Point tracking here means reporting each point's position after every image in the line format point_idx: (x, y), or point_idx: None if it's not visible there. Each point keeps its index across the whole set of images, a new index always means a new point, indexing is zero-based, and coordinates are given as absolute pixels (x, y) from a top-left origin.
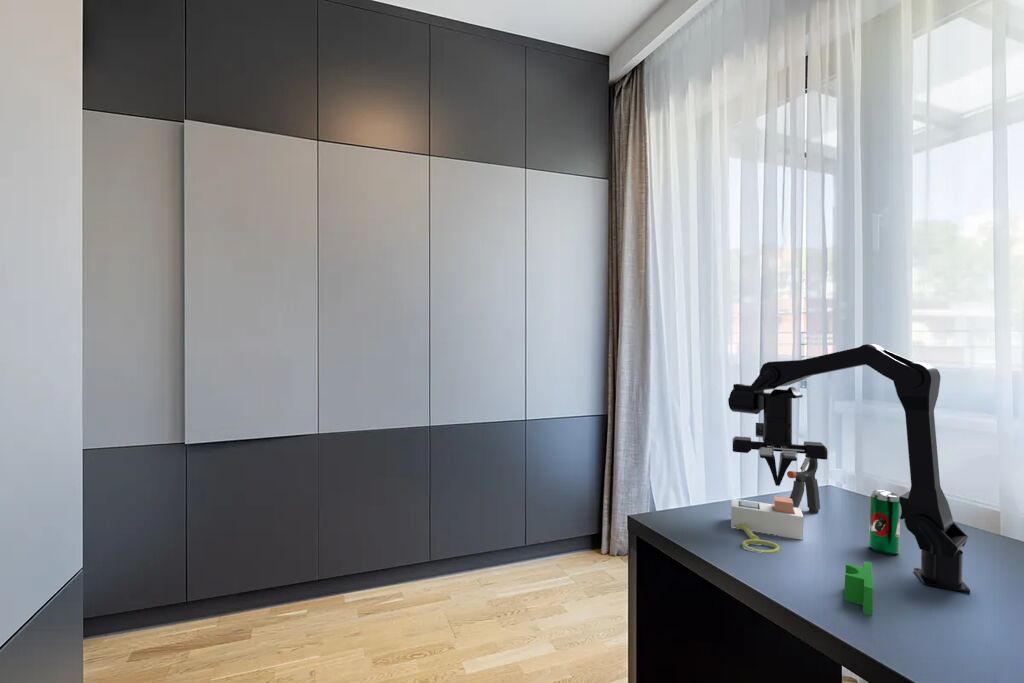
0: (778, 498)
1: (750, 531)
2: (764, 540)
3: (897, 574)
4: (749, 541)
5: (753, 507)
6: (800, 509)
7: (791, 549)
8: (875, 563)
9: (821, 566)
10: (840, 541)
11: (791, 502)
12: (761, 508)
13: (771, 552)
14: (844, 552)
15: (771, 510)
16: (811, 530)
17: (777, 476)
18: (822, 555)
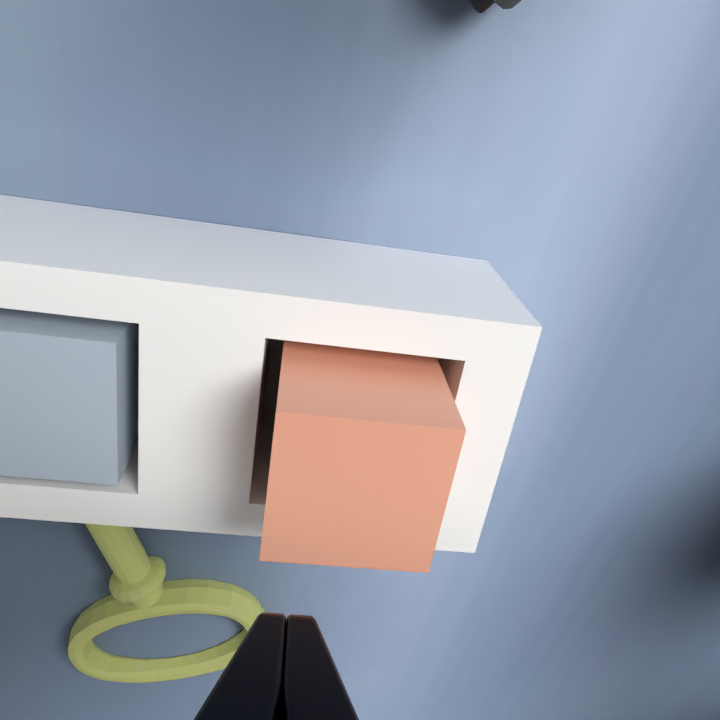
0: (312, 474)
1: (105, 539)
2: (187, 609)
3: (716, 676)
4: (105, 628)
5: (78, 477)
6: (526, 367)
7: (331, 589)
8: (691, 609)
9: (418, 706)
10: (679, 387)
11: (417, 556)
12: (153, 466)
13: (217, 670)
14: (609, 537)
15: (239, 488)
16: (574, 237)
17: (283, 716)
18: (471, 606)
